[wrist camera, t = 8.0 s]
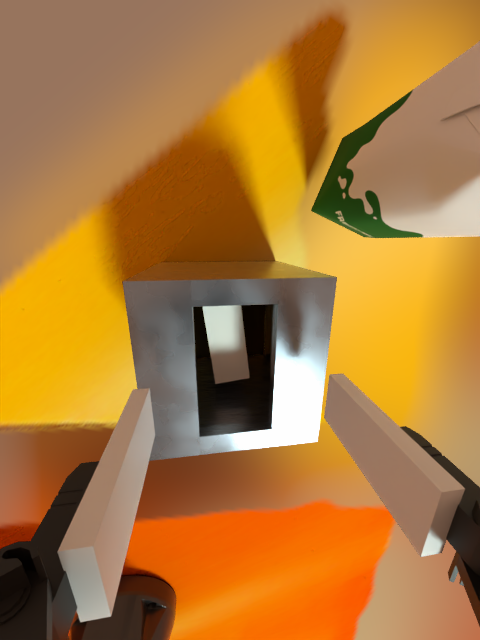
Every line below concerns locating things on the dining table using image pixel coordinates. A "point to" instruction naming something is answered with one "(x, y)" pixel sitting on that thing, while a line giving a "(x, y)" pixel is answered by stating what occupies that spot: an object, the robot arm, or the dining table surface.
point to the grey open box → (264, 369)
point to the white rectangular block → (226, 342)
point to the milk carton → (413, 162)
